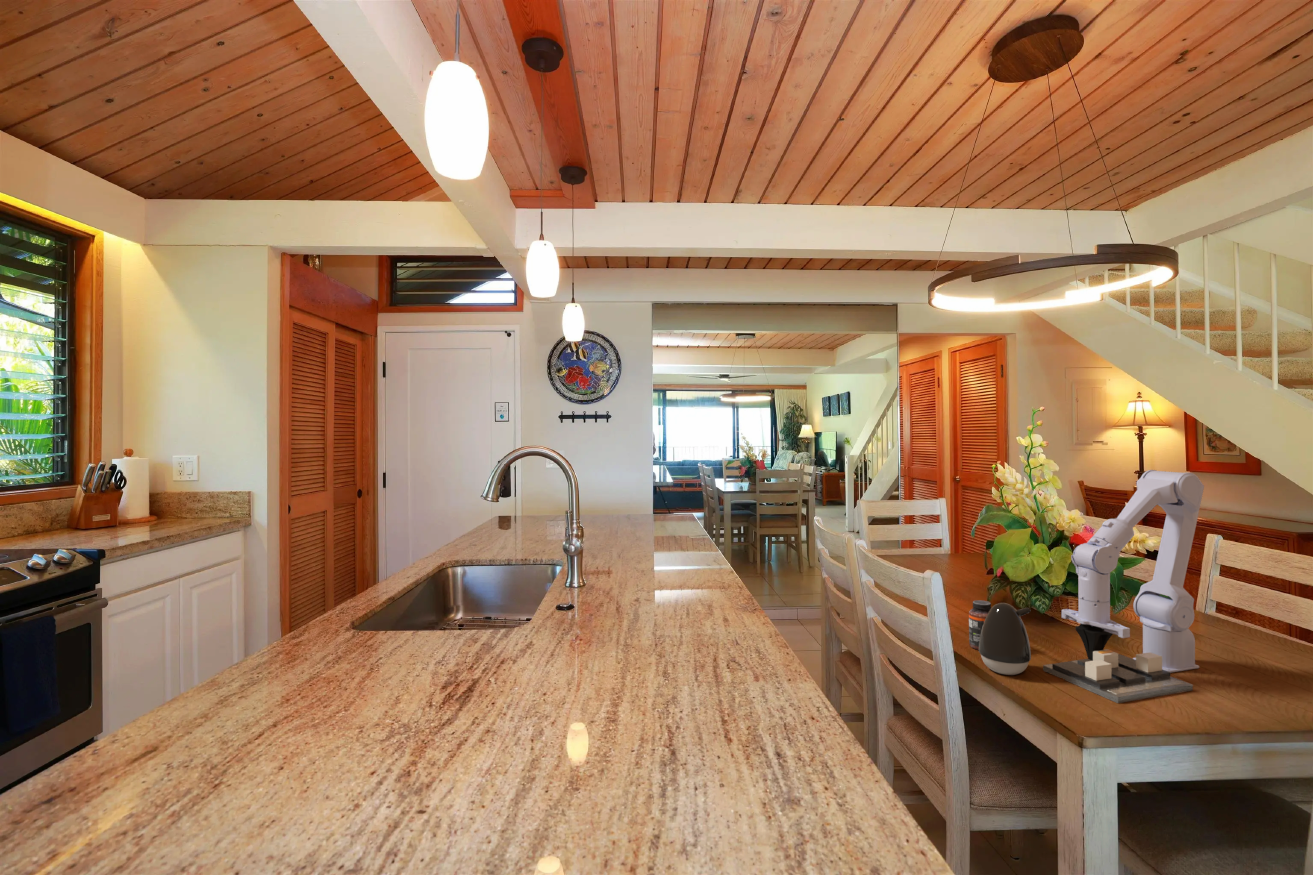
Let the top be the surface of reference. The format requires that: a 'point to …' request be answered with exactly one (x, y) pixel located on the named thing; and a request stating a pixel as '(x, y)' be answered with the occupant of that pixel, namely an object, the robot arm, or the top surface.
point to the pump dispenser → (1005, 640)
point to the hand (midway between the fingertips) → (1094, 659)
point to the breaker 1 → (1098, 670)
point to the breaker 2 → (1149, 662)
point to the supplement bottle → (977, 621)
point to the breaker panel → (1120, 680)
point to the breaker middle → (1106, 657)
